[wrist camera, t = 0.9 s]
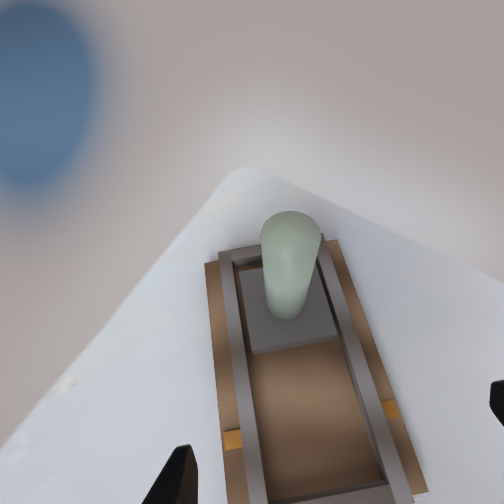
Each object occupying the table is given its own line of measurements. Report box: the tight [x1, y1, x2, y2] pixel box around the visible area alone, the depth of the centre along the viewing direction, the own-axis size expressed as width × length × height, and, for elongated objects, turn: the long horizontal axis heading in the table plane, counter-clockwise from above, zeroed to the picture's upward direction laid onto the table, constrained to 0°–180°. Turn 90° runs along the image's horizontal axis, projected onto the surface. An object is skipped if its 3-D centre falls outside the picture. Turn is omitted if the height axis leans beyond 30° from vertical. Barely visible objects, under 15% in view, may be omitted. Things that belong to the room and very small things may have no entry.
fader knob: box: [239, 211, 337, 355], centre depth 19 cm, size 6×6×11 cm
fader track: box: [204, 233, 429, 504], centre depth 22 cm, size 18×12×3 cm, turn 9°
